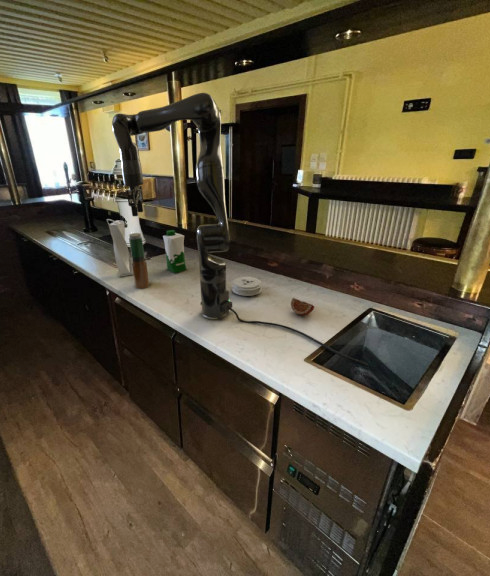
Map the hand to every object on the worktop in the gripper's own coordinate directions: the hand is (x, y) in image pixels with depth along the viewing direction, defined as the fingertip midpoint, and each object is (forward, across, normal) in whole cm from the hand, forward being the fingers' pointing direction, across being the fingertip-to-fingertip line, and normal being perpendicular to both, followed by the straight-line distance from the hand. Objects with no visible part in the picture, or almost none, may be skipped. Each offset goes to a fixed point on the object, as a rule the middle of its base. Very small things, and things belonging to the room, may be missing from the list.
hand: (138, 214), depth 125 cm
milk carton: (+32, -18, +11) cm, 39 cm away
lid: (+33, +8, +45) cm, 56 cm away
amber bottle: (+32, 0, -2) cm, 32 cm away
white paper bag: (+32, -15, -15) cm, 39 cm away
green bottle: (+18, 0, -2) cm, 18 cm away
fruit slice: (+33, +28, +63) cm, 76 cm away
